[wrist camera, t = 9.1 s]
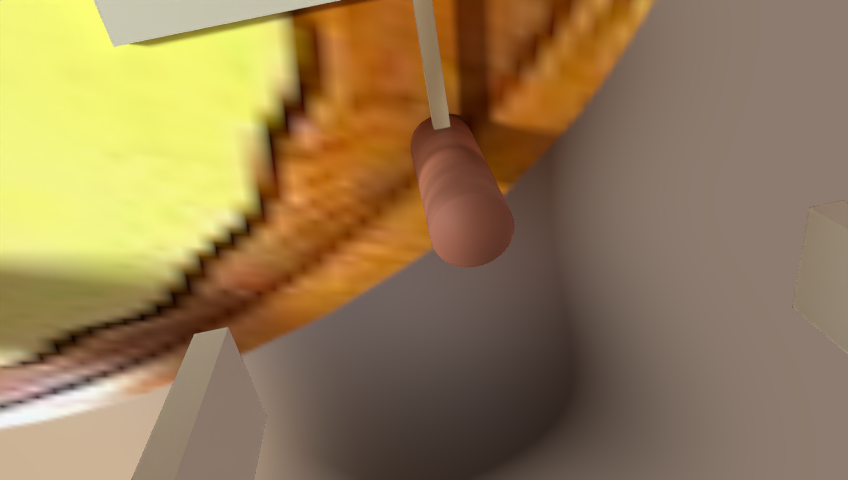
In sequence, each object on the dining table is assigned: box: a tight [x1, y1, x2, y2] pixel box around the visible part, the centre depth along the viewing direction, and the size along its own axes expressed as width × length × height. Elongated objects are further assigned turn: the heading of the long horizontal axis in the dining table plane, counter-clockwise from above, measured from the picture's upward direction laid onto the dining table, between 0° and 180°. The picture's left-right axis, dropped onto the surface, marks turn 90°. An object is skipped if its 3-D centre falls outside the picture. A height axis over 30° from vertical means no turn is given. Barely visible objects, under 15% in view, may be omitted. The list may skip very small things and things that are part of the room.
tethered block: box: [411, 0, 514, 267], centre depth 22 cm, size 6×19×9 cm, turn 10°
